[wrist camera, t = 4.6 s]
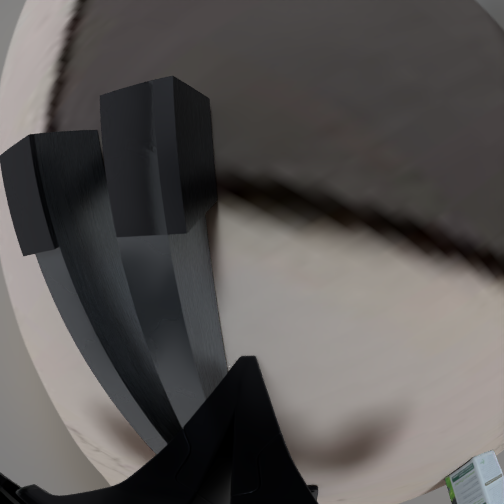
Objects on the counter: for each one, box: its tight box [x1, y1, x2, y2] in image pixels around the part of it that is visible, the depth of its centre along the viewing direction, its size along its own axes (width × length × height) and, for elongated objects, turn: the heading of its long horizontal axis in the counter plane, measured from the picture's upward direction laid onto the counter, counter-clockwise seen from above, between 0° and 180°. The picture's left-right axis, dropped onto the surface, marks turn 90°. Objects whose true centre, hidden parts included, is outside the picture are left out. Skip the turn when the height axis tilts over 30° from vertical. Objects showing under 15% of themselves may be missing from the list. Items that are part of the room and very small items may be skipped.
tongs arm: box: [100, 76, 228, 429], centre depth 9 cm, size 17×2×3 cm, turn 3°
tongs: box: [0, 130, 182, 454], centre depth 9 cm, size 20×5×4 cm, turn 9°
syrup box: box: [445, 450, 504, 504], centre depth 11 cm, size 6×6×14 cm
